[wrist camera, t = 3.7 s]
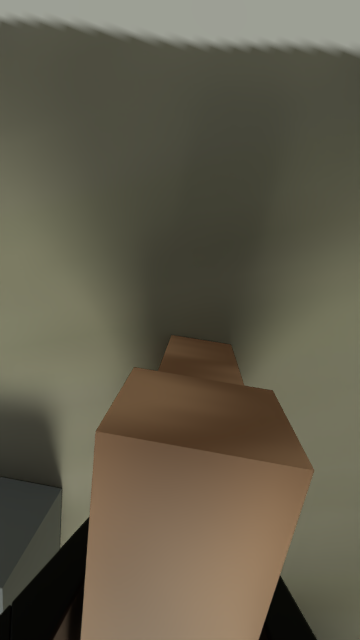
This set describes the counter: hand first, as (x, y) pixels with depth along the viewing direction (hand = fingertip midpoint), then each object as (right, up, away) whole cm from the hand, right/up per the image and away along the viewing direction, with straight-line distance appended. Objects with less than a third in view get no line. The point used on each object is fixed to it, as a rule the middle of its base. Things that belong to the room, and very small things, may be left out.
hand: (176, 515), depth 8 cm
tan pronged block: (0, +1, +3) cm, 4 cm away
